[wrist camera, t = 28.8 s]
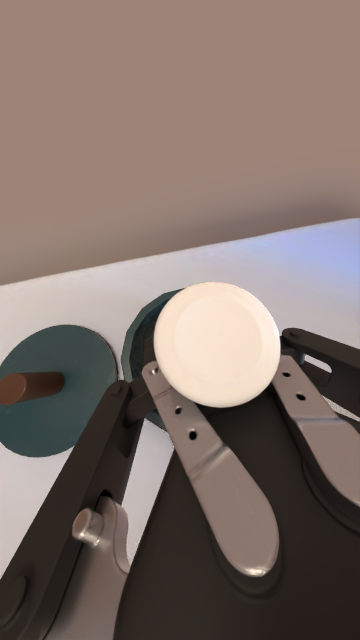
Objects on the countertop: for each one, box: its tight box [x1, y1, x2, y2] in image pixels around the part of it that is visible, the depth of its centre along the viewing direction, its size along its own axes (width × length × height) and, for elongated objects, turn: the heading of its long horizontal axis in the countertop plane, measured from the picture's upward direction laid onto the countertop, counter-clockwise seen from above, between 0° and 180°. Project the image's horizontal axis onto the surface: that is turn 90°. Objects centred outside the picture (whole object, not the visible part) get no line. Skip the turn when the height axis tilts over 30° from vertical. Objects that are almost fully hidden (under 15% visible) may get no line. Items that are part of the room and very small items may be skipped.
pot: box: [121, 288, 205, 432], centre depth 16 cm, size 12×12×6 cm
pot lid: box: [0, 325, 117, 457], centre depth 15 cm, size 13×13×6 cm
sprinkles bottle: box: [154, 282, 280, 408], centre depth 12 cm, size 5×5×14 cm
